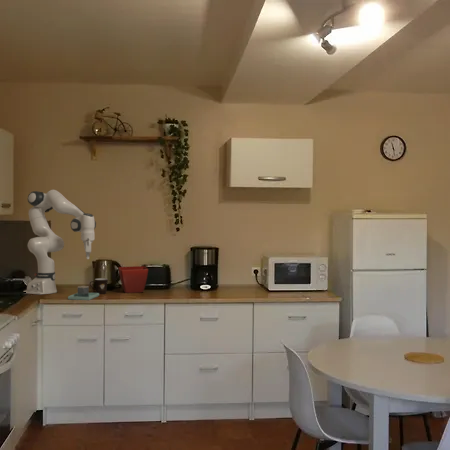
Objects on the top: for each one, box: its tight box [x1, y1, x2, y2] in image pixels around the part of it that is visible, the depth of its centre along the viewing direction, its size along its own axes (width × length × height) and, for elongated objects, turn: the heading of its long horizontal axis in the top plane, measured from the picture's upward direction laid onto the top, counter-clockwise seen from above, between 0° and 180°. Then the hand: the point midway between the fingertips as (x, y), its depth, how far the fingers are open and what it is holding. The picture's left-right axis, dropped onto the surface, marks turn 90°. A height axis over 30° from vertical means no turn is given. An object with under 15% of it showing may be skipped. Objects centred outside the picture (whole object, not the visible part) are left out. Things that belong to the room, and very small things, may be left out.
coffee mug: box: [89, 277, 109, 295], centre depth 391 cm, size 12×9×10 cm
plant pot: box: [118, 265, 149, 294], centre depth 400 cm, size 19×19×17 cm
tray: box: [67, 292, 100, 301], centre depth 374 cm, size 15×17×2 cm
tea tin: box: [77, 285, 90, 297], centre depth 373 cm, size 5×5×7 cm
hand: (87, 258), depth 379 cm, fingers open, 8 cm apart
